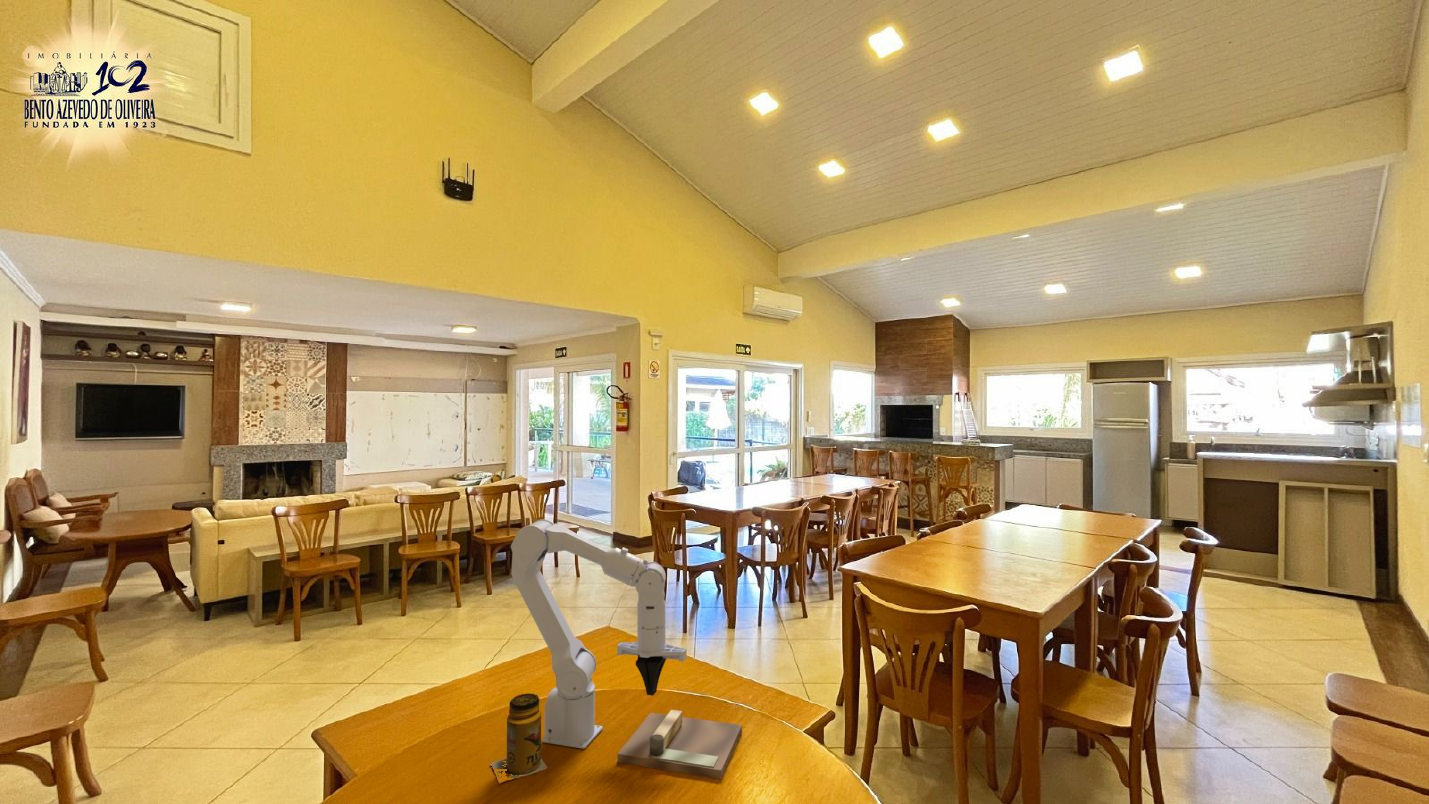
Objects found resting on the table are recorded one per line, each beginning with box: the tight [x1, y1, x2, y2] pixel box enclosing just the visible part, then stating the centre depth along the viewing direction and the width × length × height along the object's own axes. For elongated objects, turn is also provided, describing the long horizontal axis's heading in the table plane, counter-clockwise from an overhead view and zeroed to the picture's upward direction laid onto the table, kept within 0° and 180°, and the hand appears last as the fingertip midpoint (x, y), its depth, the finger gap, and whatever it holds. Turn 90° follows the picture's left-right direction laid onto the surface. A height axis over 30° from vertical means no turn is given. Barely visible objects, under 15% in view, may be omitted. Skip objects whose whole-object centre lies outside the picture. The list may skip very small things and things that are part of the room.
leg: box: [650, 709, 683, 756], centre depth 108 cm, size 12×3×2 cm, turn 164°
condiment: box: [489, 692, 548, 779], centre depth 102 cm, size 7×8×12 cm
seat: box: [617, 712, 743, 780], centre depth 108 cm, size 20×16×2 cm
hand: (651, 693), depth 113 cm, fingers closed
